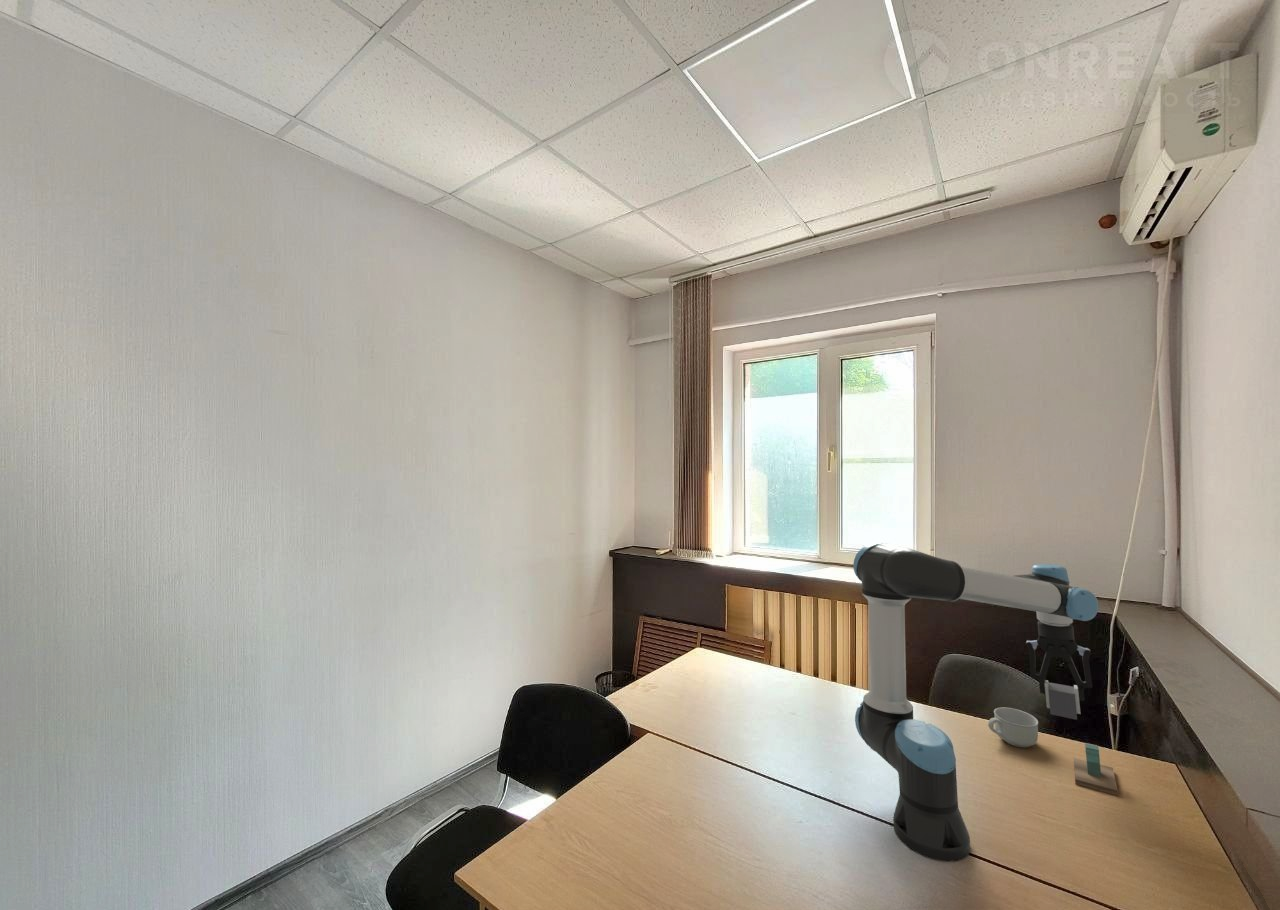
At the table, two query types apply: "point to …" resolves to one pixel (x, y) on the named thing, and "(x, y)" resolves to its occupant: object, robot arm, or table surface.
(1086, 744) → the stand
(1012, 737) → the teacup
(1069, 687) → the grey upright block
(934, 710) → the table surface
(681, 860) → the table surface
